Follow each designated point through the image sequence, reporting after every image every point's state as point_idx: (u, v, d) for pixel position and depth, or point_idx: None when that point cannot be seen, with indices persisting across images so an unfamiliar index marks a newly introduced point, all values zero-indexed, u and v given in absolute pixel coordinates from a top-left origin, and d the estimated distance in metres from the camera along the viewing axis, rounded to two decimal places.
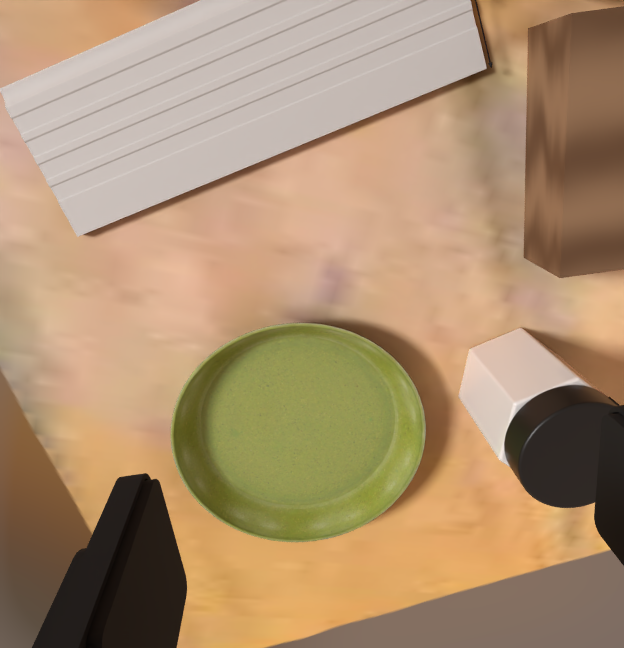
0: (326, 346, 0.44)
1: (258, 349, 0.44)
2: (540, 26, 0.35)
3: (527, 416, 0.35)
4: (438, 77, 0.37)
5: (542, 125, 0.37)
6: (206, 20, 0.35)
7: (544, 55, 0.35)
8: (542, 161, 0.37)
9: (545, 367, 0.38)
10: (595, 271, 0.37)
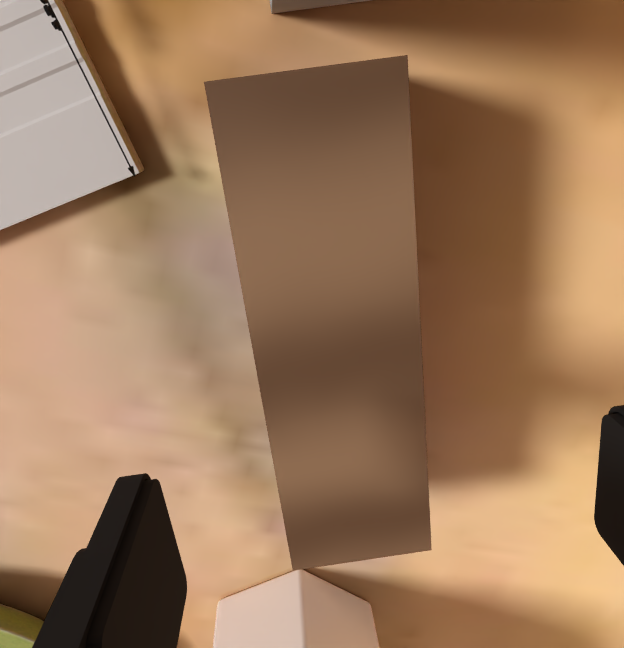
0: None
1: None
2: None
3: None
4: (44, 191, 0.18)
5: None
6: None
7: None
8: None
9: None
10: (361, 558, 0.19)
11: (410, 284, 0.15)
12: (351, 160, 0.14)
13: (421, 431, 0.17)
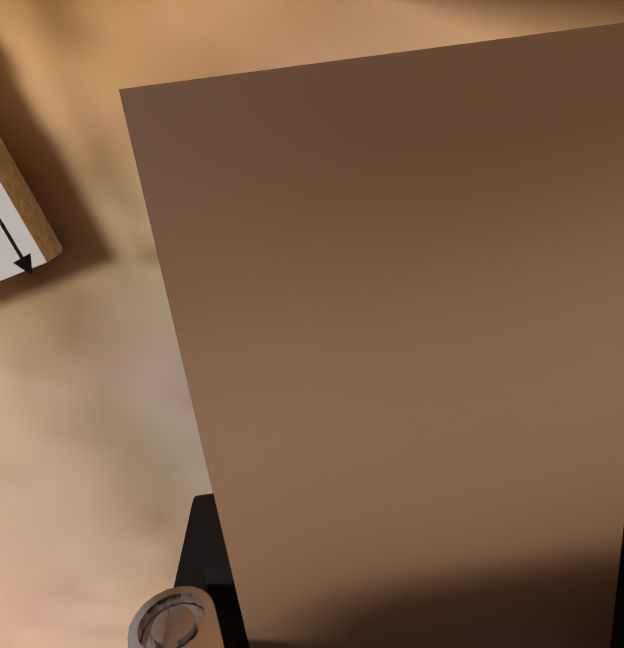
0: None
1: None
2: None
3: None
4: None
5: None
6: None
7: None
8: None
9: None
10: None
11: (604, 538, 0.07)
12: (502, 286, 0.06)
13: None
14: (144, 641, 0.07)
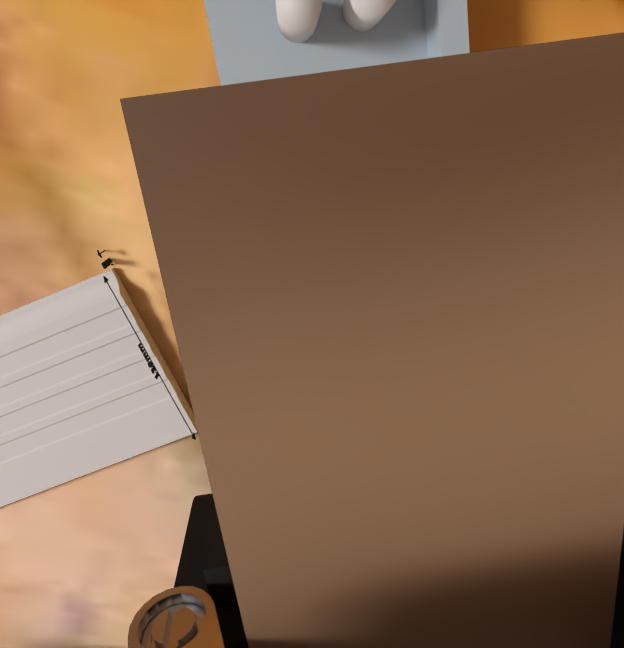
0: None
1: None
2: None
3: None
4: (142, 442, 0.32)
5: None
6: None
7: None
8: None
9: None
10: None
11: (604, 543, 0.07)
12: (502, 293, 0.06)
13: None
14: (144, 641, 0.07)
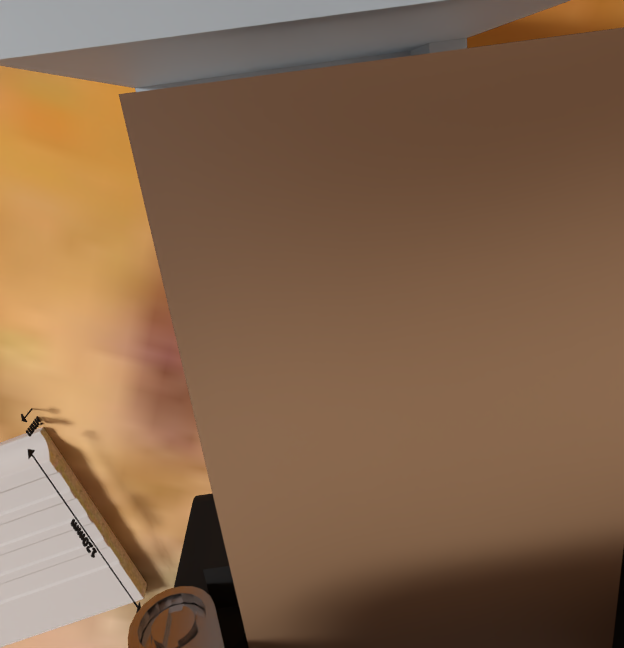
0: None
1: None
2: None
3: None
4: (80, 610, 0.28)
5: None
6: None
7: None
8: None
9: None
10: None
11: (606, 542, 0.07)
12: (504, 290, 0.06)
13: None
14: (144, 641, 0.07)
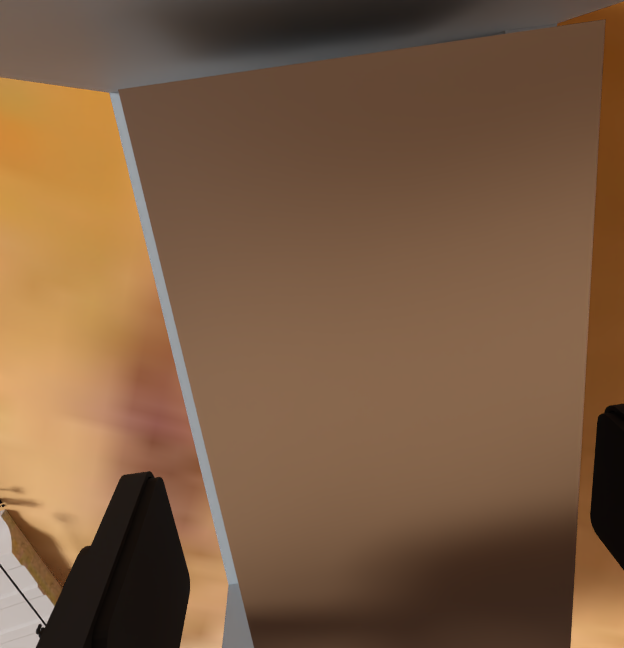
0: None
1: None
2: None
3: None
4: None
5: None
6: None
7: None
8: None
9: None
10: None
11: (562, 492, 0.08)
12: (460, 259, 0.06)
13: None
14: None
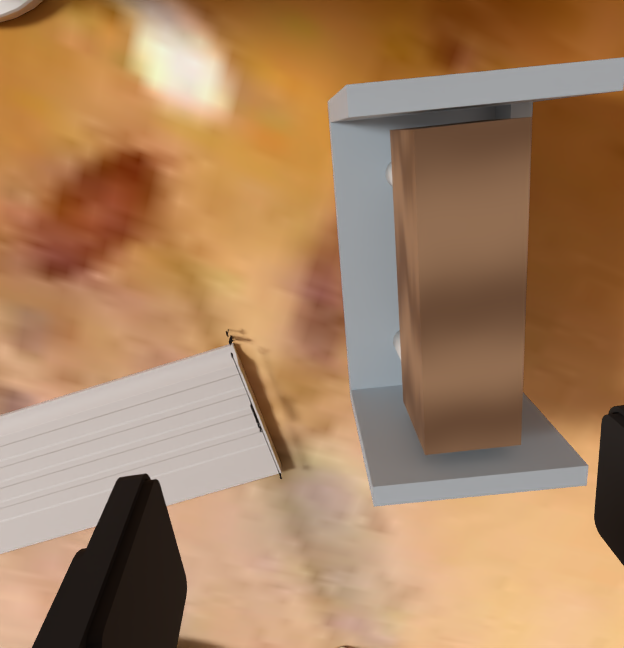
0: None
1: None
2: (396, 132, 0.27)
3: None
4: (237, 477, 0.40)
5: (405, 256, 0.28)
6: (19, 431, 0.38)
7: (401, 170, 0.26)
8: (407, 300, 0.29)
9: None
10: (472, 448, 0.28)
11: (522, 255, 0.25)
12: (493, 176, 0.24)
13: (521, 355, 0.26)
14: None
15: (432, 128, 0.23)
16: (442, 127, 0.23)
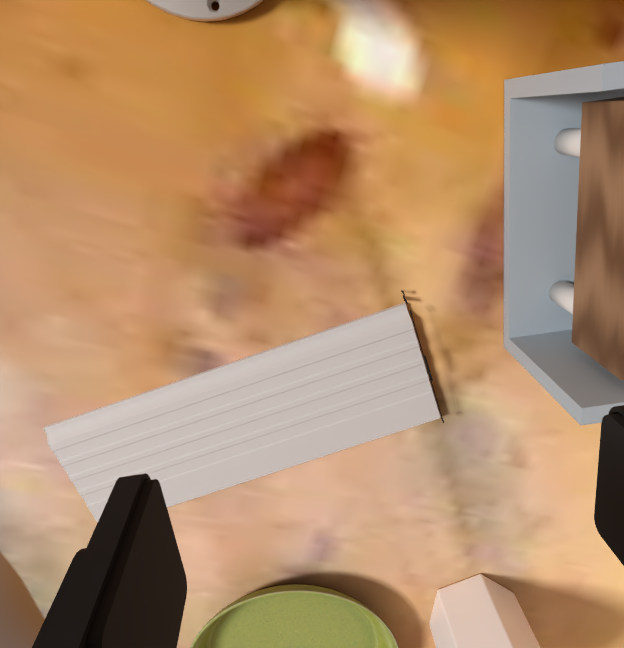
0: None
1: None
2: (600, 104, 0.31)
3: None
4: (401, 424, 0.45)
5: (600, 211, 0.33)
6: (214, 388, 0.43)
7: (605, 136, 0.31)
8: (600, 249, 0.33)
9: (495, 639, 0.46)
10: None
11: None
12: None
13: None
14: None
15: None
16: None
